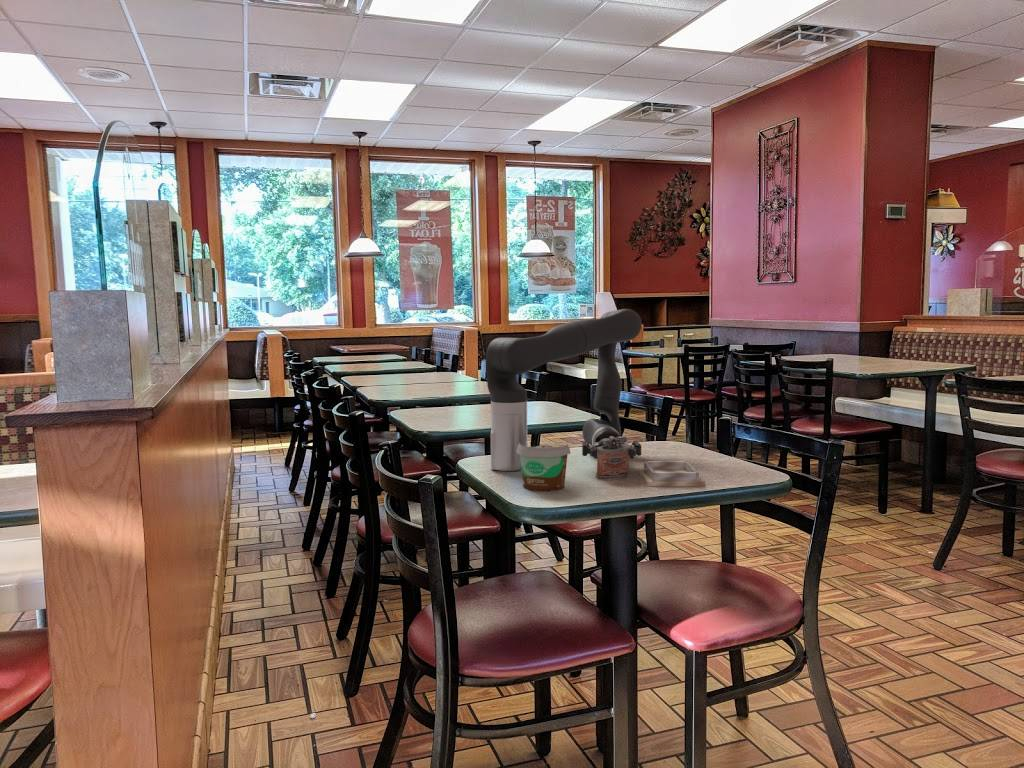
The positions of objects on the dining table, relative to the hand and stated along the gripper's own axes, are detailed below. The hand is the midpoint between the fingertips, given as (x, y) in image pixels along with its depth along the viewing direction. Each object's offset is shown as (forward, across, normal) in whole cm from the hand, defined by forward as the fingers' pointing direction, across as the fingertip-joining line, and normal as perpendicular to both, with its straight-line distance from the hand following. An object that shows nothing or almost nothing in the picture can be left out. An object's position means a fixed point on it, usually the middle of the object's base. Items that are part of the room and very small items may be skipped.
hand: (613, 453), depth 177 cm
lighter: (-2, 0, +6) cm, 6 cm away
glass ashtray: (0, +13, +6) cm, 15 cm away
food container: (+10, -17, +6) cm, 21 cm away
